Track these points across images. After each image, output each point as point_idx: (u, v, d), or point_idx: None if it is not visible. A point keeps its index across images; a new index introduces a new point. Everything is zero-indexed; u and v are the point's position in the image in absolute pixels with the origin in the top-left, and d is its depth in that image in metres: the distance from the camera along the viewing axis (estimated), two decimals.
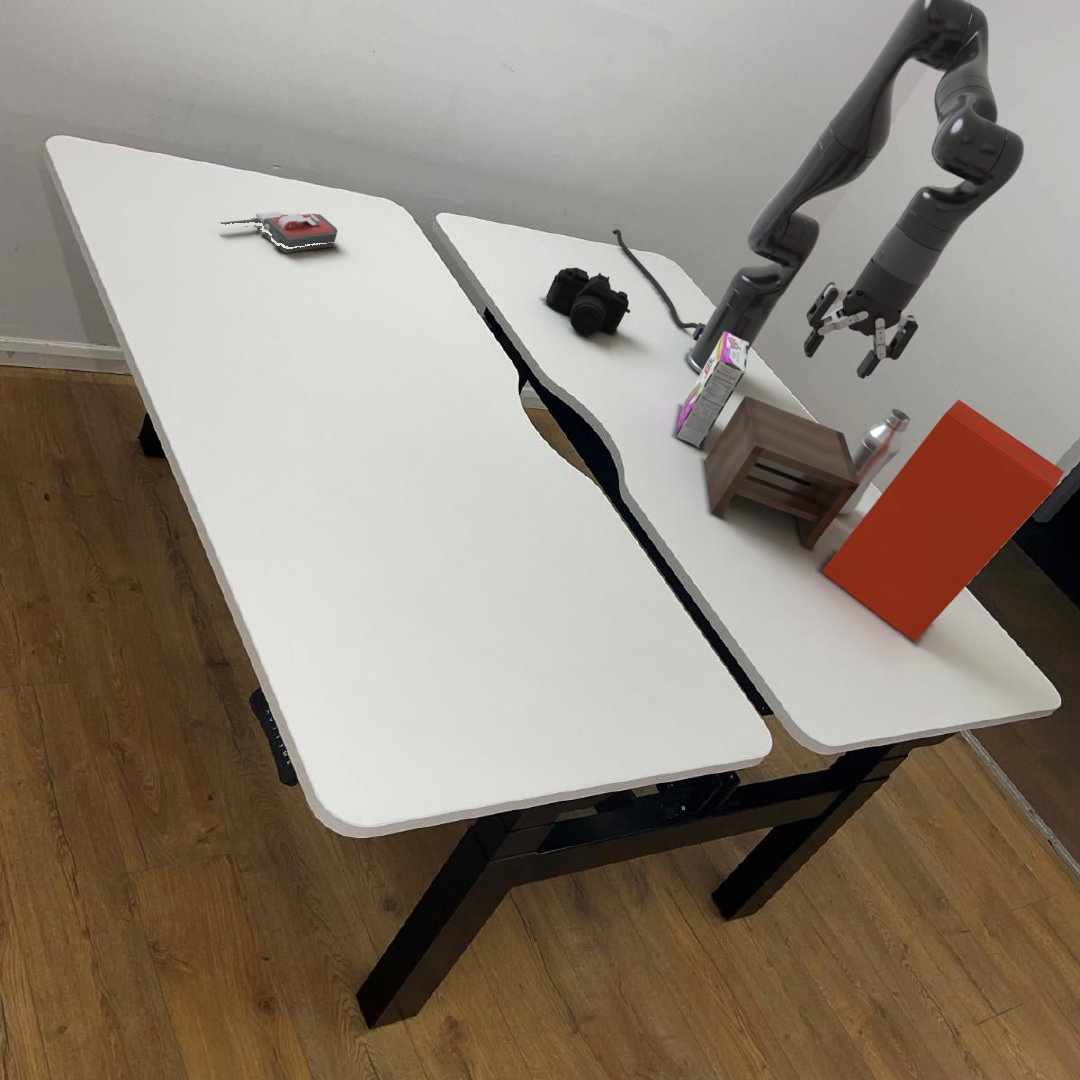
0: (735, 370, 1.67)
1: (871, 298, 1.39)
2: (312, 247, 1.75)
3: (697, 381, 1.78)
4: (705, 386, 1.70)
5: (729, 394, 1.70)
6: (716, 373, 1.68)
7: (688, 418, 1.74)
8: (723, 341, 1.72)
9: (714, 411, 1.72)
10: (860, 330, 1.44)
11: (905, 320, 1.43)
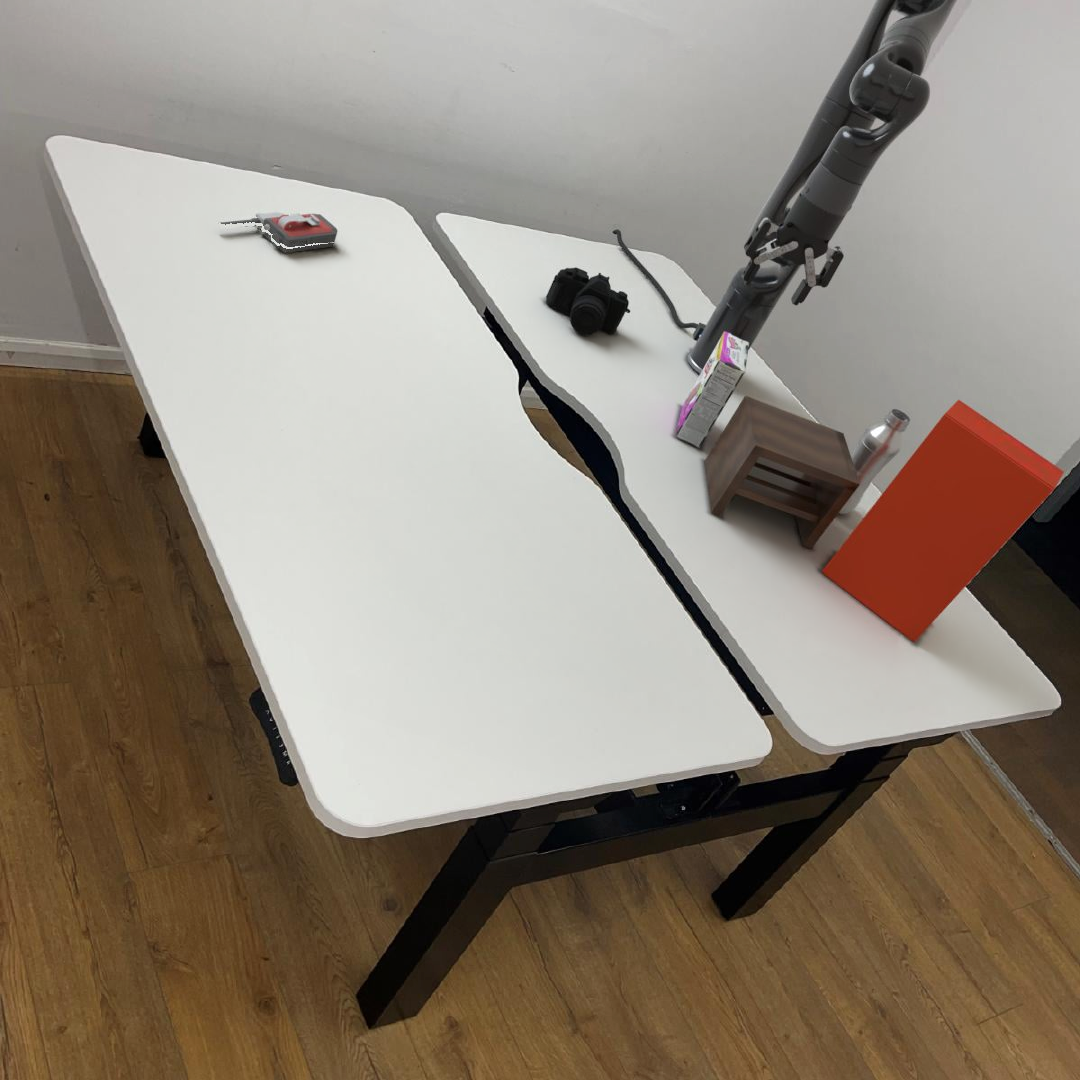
0: (735, 370, 1.67)
1: (799, 228, 1.55)
2: (312, 247, 1.75)
3: (697, 381, 1.78)
4: (705, 386, 1.70)
5: (729, 394, 1.70)
6: (716, 373, 1.68)
7: (688, 418, 1.74)
8: (723, 341, 1.72)
9: (714, 411, 1.72)
10: (792, 259, 1.60)
11: (832, 250, 1.59)
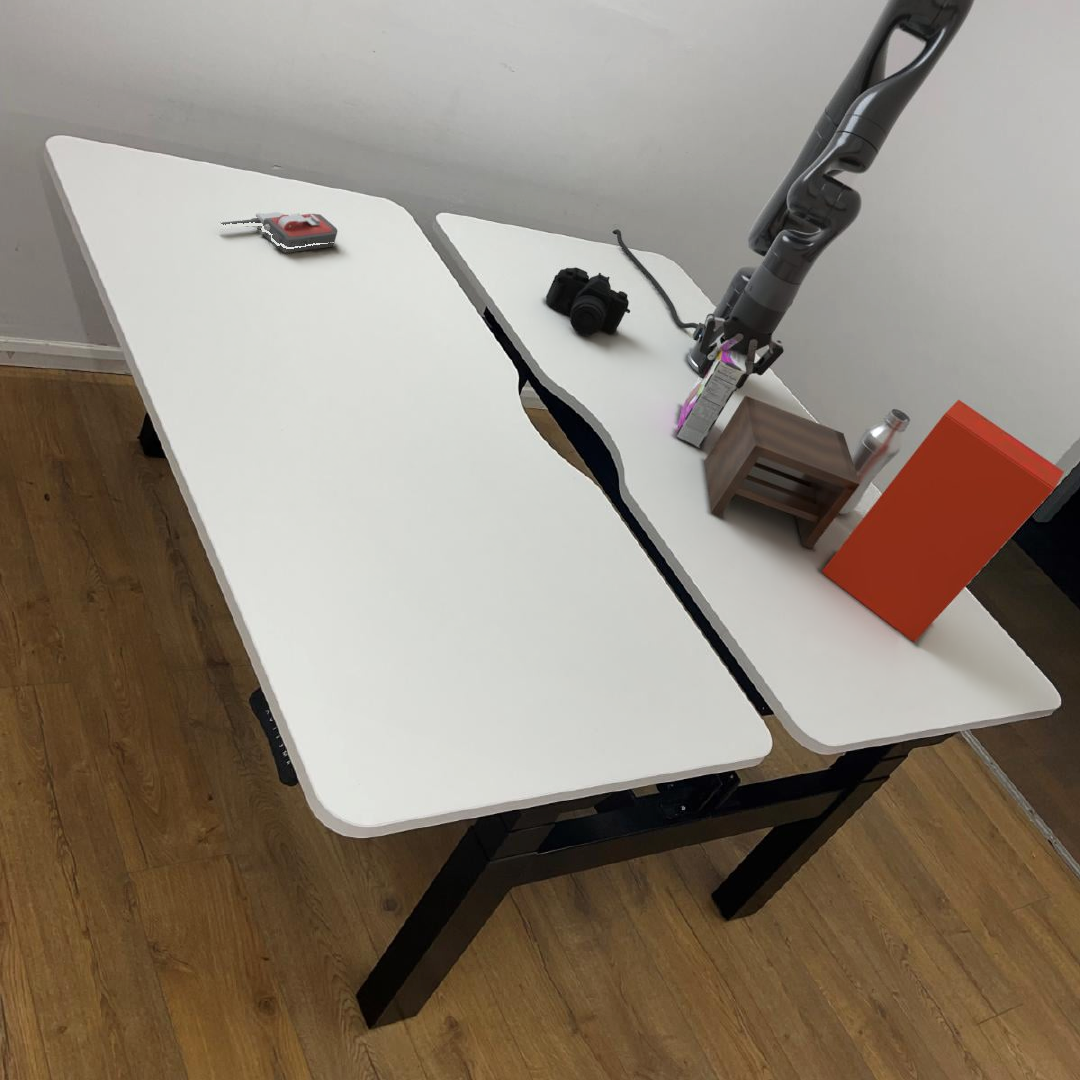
0: (735, 371, 1.67)
1: (743, 322, 1.65)
2: (312, 247, 1.75)
3: (697, 381, 1.78)
4: (705, 386, 1.70)
5: (729, 394, 1.70)
6: (717, 373, 1.68)
7: (688, 418, 1.74)
8: None
9: (714, 411, 1.72)
10: (738, 349, 1.70)
11: (774, 343, 1.70)
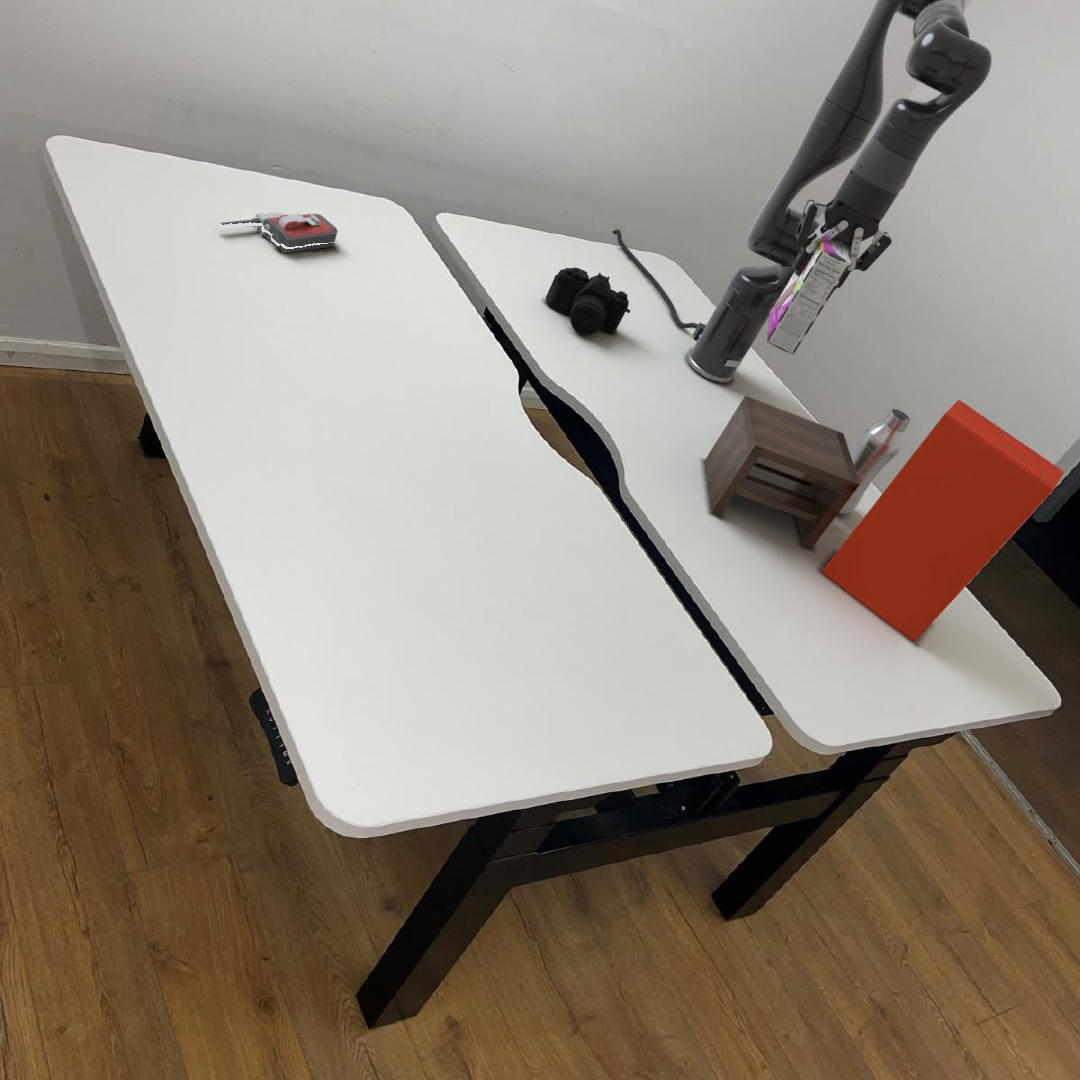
0: (839, 262, 1.50)
1: (850, 206, 1.47)
2: (312, 247, 1.75)
3: (790, 282, 1.61)
4: (804, 281, 1.53)
5: (831, 290, 1.53)
6: (818, 266, 1.51)
7: (783, 320, 1.57)
8: None
9: (813, 310, 1.55)
10: (841, 240, 1.53)
11: (881, 233, 1.52)
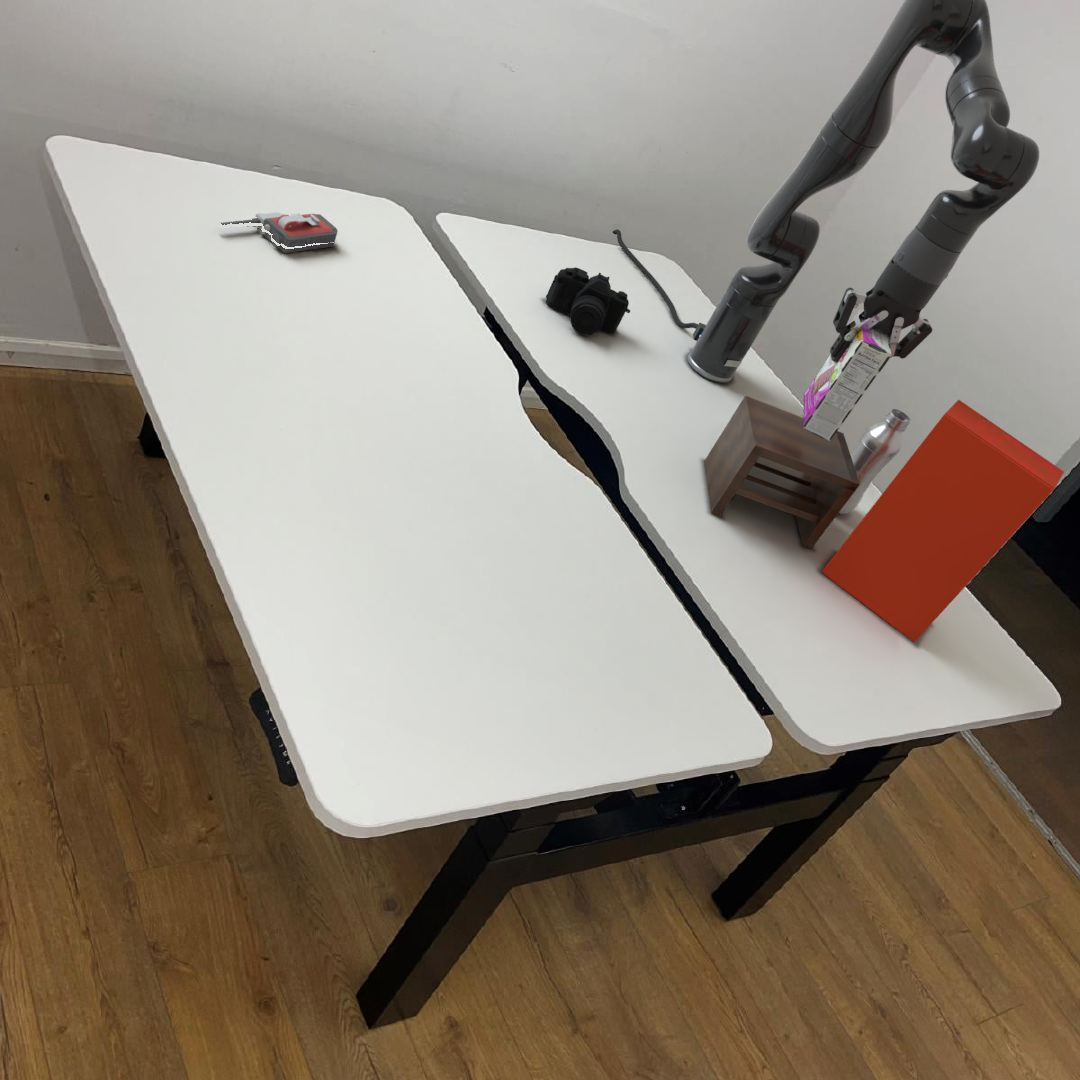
0: (879, 353, 1.46)
1: (891, 297, 1.44)
2: (312, 247, 1.75)
3: (826, 366, 1.58)
4: (843, 371, 1.49)
5: (870, 380, 1.49)
6: (857, 356, 1.47)
7: (820, 407, 1.53)
8: None
9: (851, 399, 1.51)
10: (880, 329, 1.49)
11: (921, 322, 1.49)
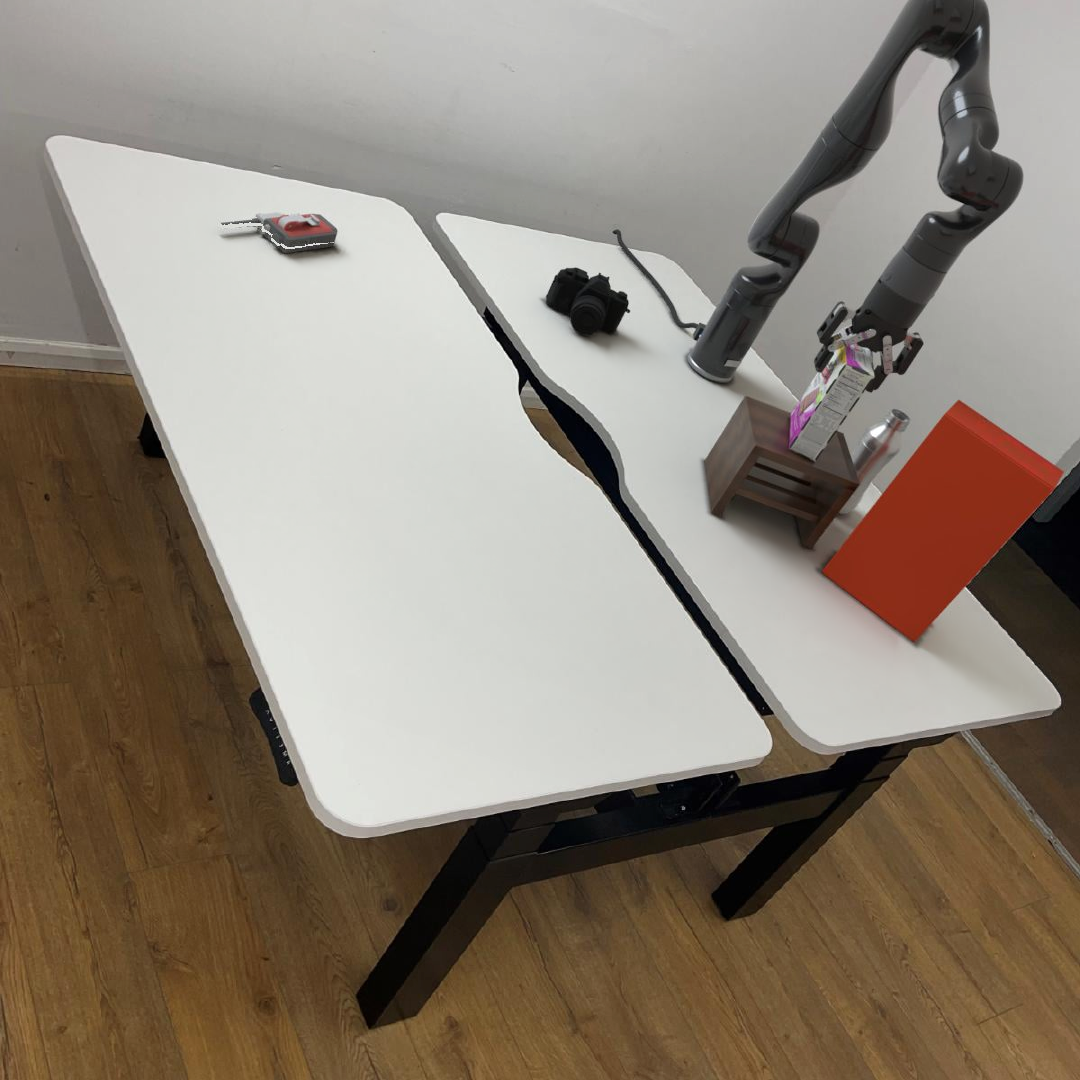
0: (863, 375, 1.49)
1: (879, 316, 1.46)
2: (312, 247, 1.75)
3: (812, 387, 1.60)
4: (827, 393, 1.52)
5: (854, 402, 1.51)
6: (841, 379, 1.50)
7: (805, 428, 1.56)
8: None
9: (835, 420, 1.54)
10: (868, 347, 1.51)
11: (911, 337, 1.50)
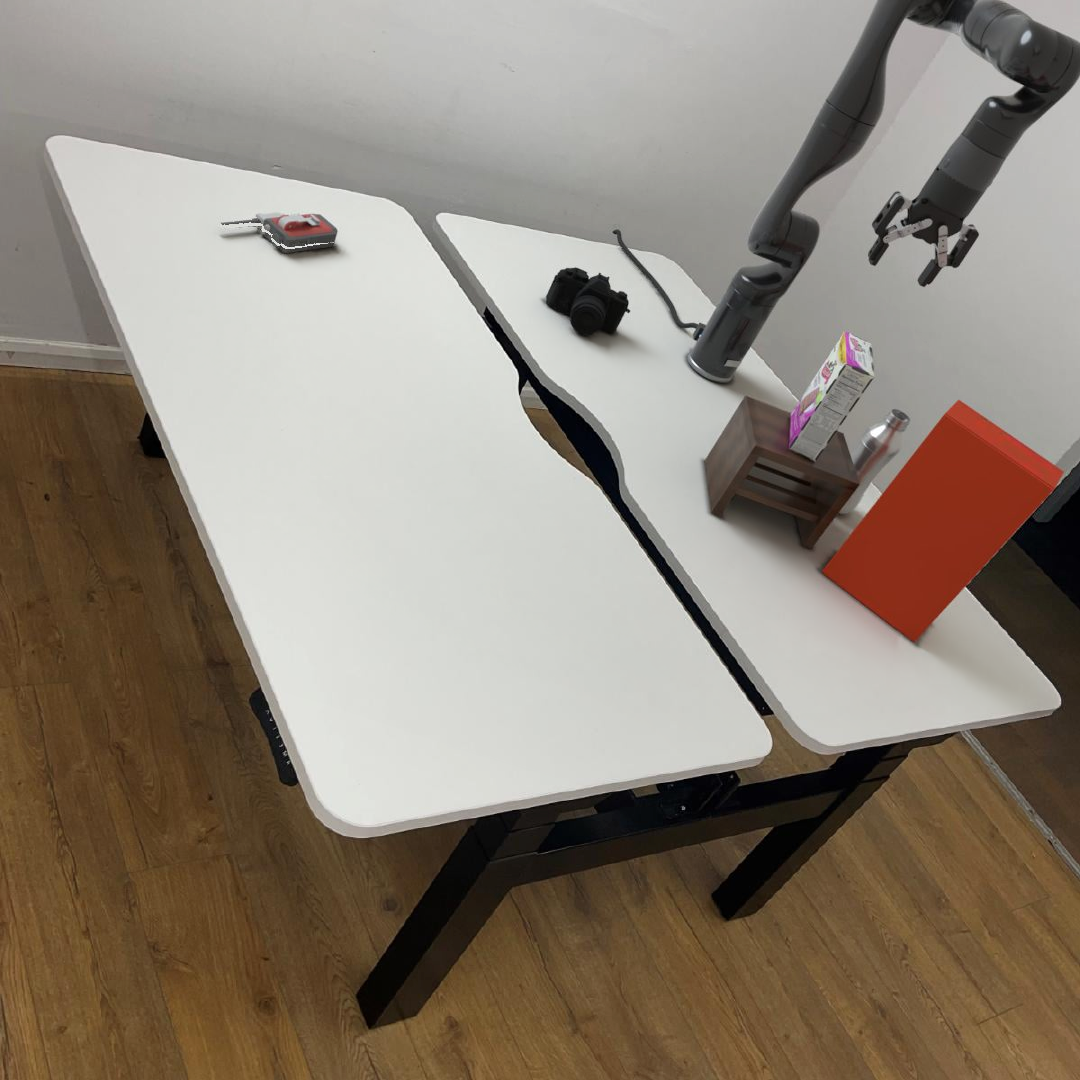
0: (863, 375, 1.49)
1: (936, 204, 1.46)
2: (312, 247, 1.75)
3: (812, 387, 1.60)
4: (827, 393, 1.52)
5: (854, 402, 1.51)
6: (841, 379, 1.50)
7: (805, 428, 1.56)
8: (845, 342, 1.54)
9: (835, 420, 1.54)
10: (923, 238, 1.51)
11: (966, 228, 1.51)
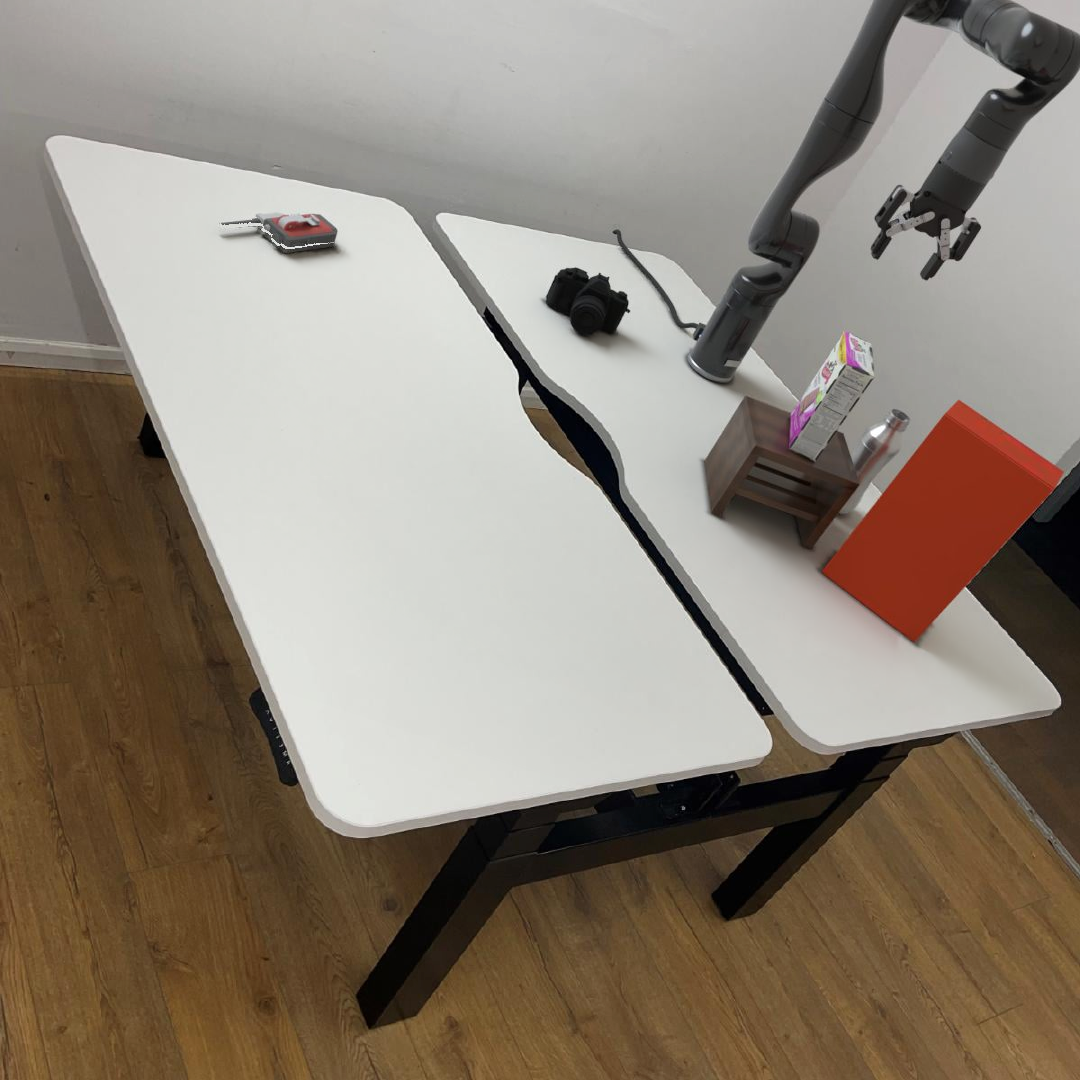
0: (863, 375, 1.49)
1: (939, 197, 1.47)
2: (312, 247, 1.75)
3: (812, 387, 1.60)
4: (827, 393, 1.52)
5: (854, 402, 1.51)
6: (841, 379, 1.50)
7: (805, 428, 1.56)
8: (846, 342, 1.54)
9: (835, 420, 1.54)
10: (926, 231, 1.52)
11: (968, 221, 1.51)
